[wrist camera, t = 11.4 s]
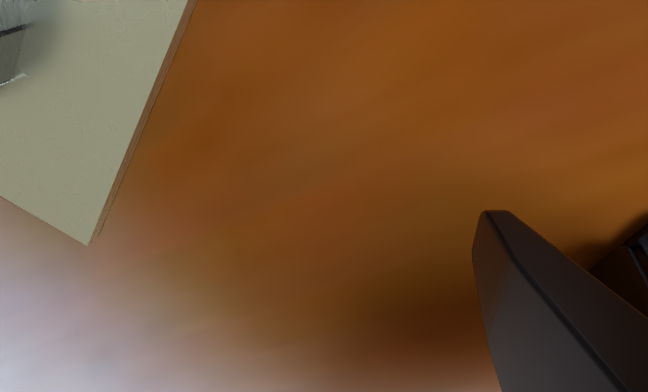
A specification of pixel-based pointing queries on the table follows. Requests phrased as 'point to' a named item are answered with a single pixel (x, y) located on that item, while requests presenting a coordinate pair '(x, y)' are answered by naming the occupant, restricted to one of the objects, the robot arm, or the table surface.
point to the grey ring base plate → (79, 100)
